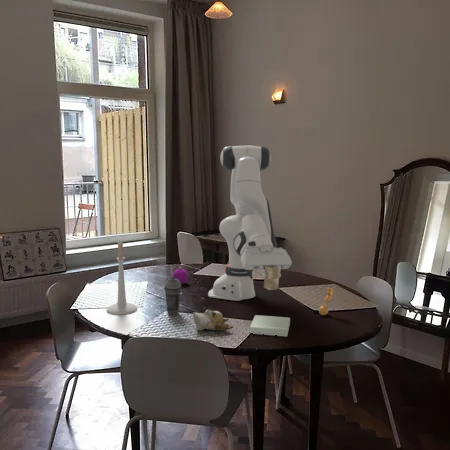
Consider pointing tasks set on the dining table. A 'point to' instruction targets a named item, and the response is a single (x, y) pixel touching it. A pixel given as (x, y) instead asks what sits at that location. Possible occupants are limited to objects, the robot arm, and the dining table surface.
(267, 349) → the dining table surface
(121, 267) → the candlestick
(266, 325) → the sage board
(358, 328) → the dining table surface
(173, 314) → the beverage cup
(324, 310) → the figurine
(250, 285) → the robot arm
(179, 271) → the christmas ornament
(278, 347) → the dining table surface
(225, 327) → the ceramic sculpture
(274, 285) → the tan block
